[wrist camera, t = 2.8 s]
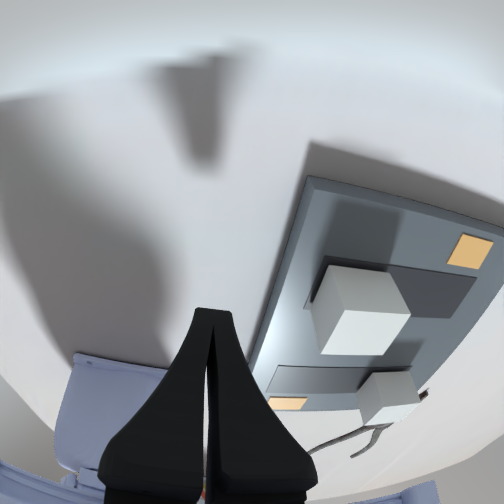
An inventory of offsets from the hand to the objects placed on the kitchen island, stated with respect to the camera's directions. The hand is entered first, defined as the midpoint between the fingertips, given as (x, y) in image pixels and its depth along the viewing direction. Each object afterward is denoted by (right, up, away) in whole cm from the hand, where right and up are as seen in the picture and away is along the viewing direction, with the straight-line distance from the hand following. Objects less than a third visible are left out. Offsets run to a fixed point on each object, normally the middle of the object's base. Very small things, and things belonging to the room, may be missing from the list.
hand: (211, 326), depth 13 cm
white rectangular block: (+7, +1, +4) cm, 8 cm away
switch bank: (+10, -2, +8) cm, 13 cm away
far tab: (+12, -7, +10) cm, 17 cm away
